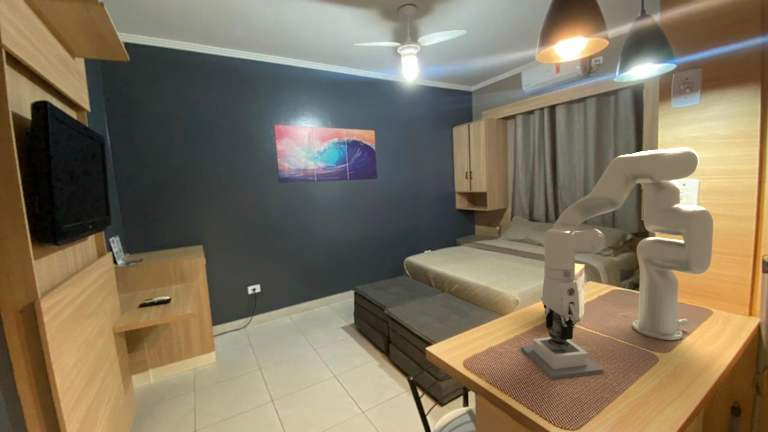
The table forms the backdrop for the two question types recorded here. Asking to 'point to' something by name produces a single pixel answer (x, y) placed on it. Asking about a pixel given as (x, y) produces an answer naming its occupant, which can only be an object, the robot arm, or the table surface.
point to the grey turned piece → (556, 332)
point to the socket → (560, 359)
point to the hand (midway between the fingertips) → (558, 332)
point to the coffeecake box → (579, 288)
